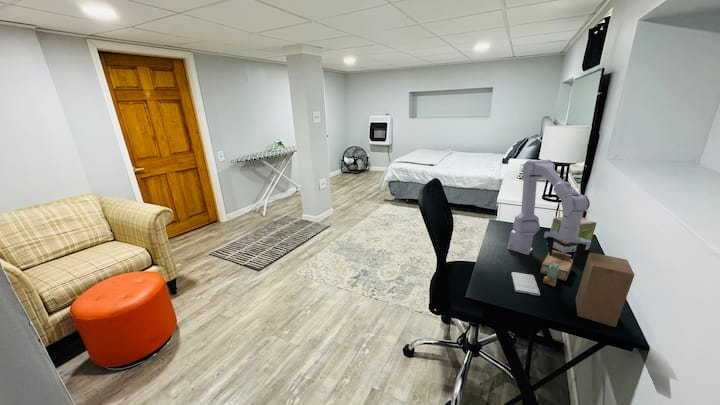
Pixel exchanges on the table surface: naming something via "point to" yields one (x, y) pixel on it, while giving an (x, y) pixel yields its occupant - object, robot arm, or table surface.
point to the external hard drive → (525, 283)
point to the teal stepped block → (553, 271)
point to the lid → (559, 261)
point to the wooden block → (603, 288)
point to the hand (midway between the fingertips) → (561, 257)
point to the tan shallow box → (552, 281)
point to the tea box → (583, 232)
